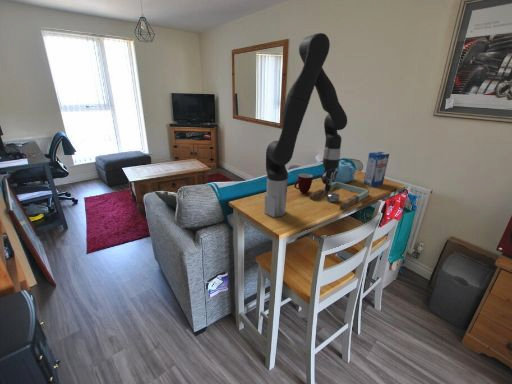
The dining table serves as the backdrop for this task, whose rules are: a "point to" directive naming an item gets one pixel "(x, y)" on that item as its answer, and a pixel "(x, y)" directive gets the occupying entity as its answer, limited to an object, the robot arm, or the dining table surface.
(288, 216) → the dining table surface
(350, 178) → the decorative pot
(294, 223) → the dining table surface
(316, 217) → the dining table surface
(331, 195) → the chip puck
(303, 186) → the mug
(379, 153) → the milk carton
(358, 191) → the corral
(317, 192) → the slot rails
